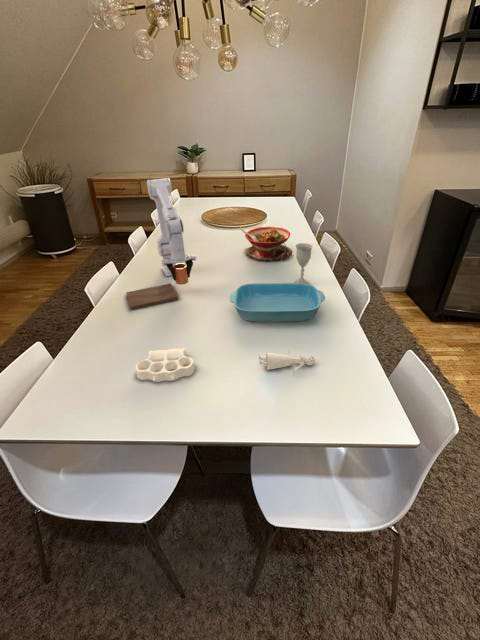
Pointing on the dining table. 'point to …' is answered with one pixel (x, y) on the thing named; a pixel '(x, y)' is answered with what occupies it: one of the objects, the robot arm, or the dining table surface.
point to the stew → (268, 243)
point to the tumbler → (181, 273)
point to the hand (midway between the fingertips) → (181, 278)
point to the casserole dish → (277, 301)
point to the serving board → (151, 296)
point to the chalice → (303, 258)
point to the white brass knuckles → (165, 365)
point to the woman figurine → (284, 360)
